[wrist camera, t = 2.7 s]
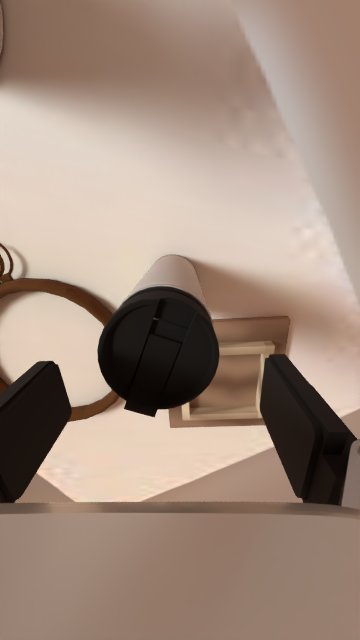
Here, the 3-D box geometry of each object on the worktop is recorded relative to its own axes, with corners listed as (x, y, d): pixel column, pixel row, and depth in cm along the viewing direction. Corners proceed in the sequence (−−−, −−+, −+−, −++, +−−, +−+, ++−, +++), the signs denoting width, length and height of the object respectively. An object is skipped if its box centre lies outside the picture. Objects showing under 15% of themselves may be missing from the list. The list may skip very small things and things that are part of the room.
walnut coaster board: (161, 321, 31) (159, 328, 29) (287, 316, 31) (295, 323, 28) (170, 423, 39) (169, 435, 36) (270, 420, 38) (276, 432, 36)
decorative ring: (47, 197, 23) (154, 402, 34) (61, 201, 26) (156, 389, 36) (-123, 276, 26) (24, 439, 37) (-95, 271, 29) (35, 425, 40)
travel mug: (143, 294, 30) (79, 400, 11) (158, 247, 27) (108, 282, 9) (185, 309, 30) (192, 431, 12) (203, 264, 28) (246, 330, 10)
